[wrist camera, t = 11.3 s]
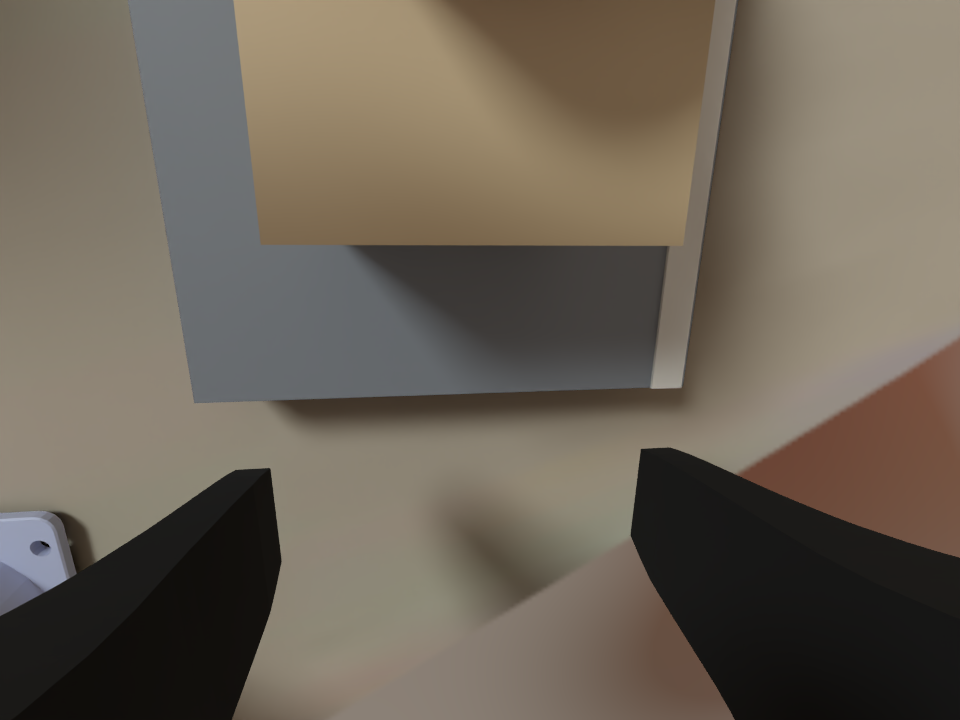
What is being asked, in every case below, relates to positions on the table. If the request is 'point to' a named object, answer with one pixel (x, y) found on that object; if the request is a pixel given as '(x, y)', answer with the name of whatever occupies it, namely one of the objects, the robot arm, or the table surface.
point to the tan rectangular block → (473, 119)
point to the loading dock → (392, 263)
